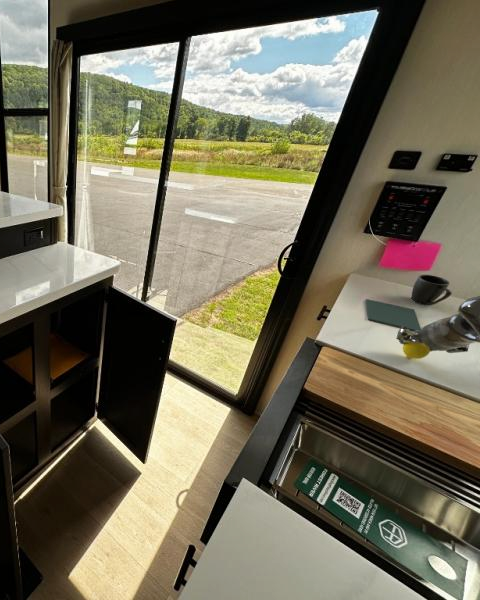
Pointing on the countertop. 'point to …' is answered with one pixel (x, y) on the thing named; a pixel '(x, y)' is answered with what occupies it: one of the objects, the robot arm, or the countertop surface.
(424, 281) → the mug
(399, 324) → the mat
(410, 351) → the fruit
